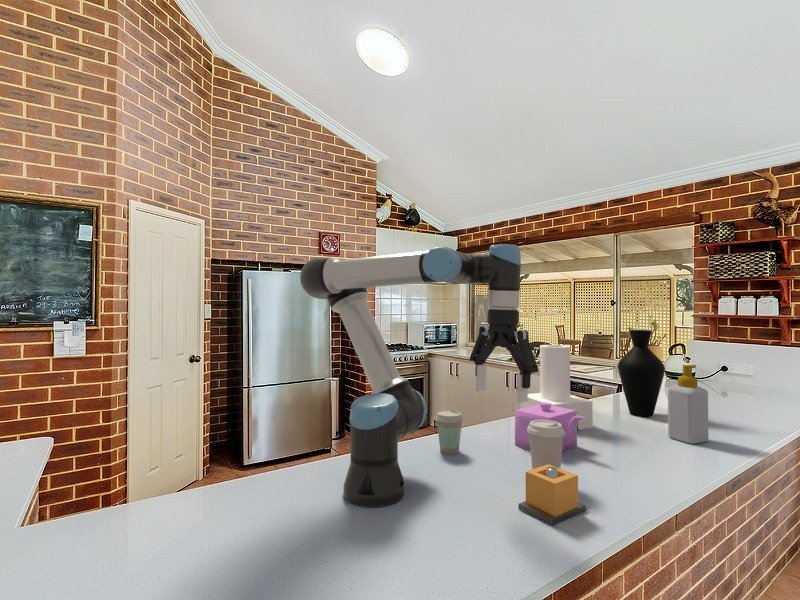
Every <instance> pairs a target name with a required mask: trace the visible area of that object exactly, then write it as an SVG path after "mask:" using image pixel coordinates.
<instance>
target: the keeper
mask: <svg viewBox="0 0 800 600" xmlns="http://www.w3.org/2000/svg"><path fill="white" fill-rule="evenodd" d="M546 476H547V477H550V478H552V479H555V478H558V469H557V468H554V467H547V468H546ZM518 510H519V511H521V512H524V513H526V514H528V515H530V516H532V517H533V518H535V519H538V520H539V521H542V522H543V523H546V524H547V525H550V526H552V527H553V526H555V525H558V524H560V523H561V522H564V521H566V520H569V519H570V518H573V517H575V516H577V515H579V514H581V513H584V512H586V511H587V505H586V504H585V503H582V502H580V501H578V507H576V508H574V509H572V510H569V511H567V512H565V513H562V514H560V515H558V516H553V515H551V514H549V513H547V512H545V511H543V510H541V509H539V508H537V507H535V506H533V505H531V504H529V503H526V500H525V501H523V502H522V501H521V502H520V503H518Z"/></svg>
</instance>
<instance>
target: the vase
mask: <svg viewBox="0 0 800 600" xmlns="http://www.w3.org/2000/svg"><path fill="white" fill-rule="evenodd" d="M628 331H629V335H630V339H631V342H632V345H633V346H632V348H630V349H629V350H628V352H627V353H626V354H625V355H623V356H622V357H621V358H620V359H619V361H618V363H617V370H618V374H619V378H620V383H621V386H622V390H623V394H624V398H625V402H626V405H627V408H628V411H629V412H628V413H629V414H630V415H631V416H633V417H637V418H653V417H654V413H655V411H656V406H657V403H658V400H659V394H660V392H661V387H662V383H663V380H664V376H665V372H666V368H665V364H664V363H663V361H662V360H661V359H660V358H659V357H658V356H657V355H656V354H655V353H654V352H653V351H652V350H651V349H650V348H649V343H650V340H651V337H652V333H653V330H650V329H629V330H628Z"/></svg>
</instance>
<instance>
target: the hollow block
mask: <svg viewBox="0 0 800 600" xmlns="http://www.w3.org/2000/svg"><path fill="white" fill-rule="evenodd" d="M547 467H554V466H552V465H549V464H547V465H544V466H541V467H538V468H535V469H532V468H531V469H530V470H529V469H528V470H526V471H525V501H526V503H529V504H531V505H533V506H535V507H537V508H539V509H541V510H543V511H545V512H547V513H549V514H551V515H553V516H558V515H560V514H562V513H565V512H567V511H569V510H572V509H574V508H576V507H578V502H579V475H578V474H576V473H574V472H570V471H567V470H565V469H562V468H561V467H560V468H557V467H554V468H557V469H558V478H555V479H552V478H550V477H547V476H546V468H547Z"/></svg>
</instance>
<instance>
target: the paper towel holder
mask: <svg viewBox="0 0 800 600" xmlns="http://www.w3.org/2000/svg"><path fill="white" fill-rule="evenodd" d="M539 375H540V376H539V380H540V382H539V383H540V384H539V387H540V391H539V392H536V393H528V402H521V403H519V404H520V405H519V406H520V408H525V407H530V406H534V405H538V404H540V403H542V402H546V403H551V404H552V406H557V407H562V408H567V409H571V410H576V411H577V416H581V417H585V418H583V419H581V420H579V421H578V422H577V430H578V429H579V430H586V429H585V428H588V429H593V427H594V425H593V424H594V421H593V420H594V419H593V418H594V417H593V416H594V414H593V413H594V411H593V410H594V409H593V404H594V403H593V400H590V399H588V398H587V399H586V398H583V397H580V396H578V395H577V396H576V395H573V394H571V346H569V345H565V344H564V345H563V344H540V345H539ZM520 408H519V409H520Z"/></svg>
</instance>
